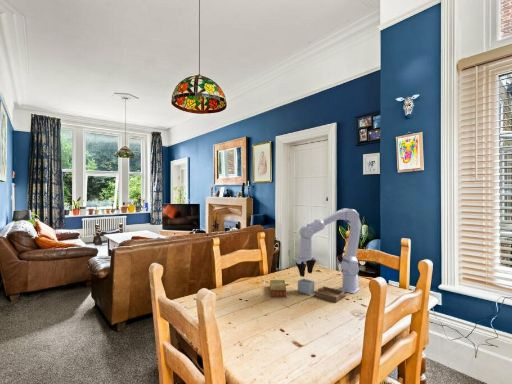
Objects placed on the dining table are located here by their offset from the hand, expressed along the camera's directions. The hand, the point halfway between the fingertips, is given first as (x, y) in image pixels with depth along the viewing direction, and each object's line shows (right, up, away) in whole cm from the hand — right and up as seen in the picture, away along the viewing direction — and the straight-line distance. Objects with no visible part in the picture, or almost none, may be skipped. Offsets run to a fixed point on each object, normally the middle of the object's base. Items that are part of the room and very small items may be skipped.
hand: (306, 274), depth 144 cm
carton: (-15, -10, +1) cm, 18 cm away
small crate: (0, -9, 0) cm, 9 cm away
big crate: (+11, -9, -6) cm, 15 cm away
